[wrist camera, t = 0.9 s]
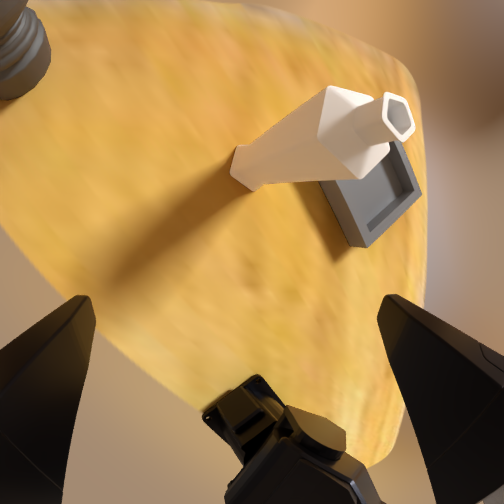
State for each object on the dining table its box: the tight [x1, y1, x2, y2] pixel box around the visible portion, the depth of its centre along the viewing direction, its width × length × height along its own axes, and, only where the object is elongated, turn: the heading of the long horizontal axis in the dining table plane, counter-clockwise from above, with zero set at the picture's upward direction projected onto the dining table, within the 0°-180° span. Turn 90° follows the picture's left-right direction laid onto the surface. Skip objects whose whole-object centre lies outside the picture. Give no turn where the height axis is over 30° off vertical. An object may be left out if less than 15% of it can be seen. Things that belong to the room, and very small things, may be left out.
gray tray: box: [318, 140, 422, 248], centre depth 28 cm, size 10×10×2 cm
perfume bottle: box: [230, 86, 415, 191], centre depth 18 cm, size 5×4×15 cm
